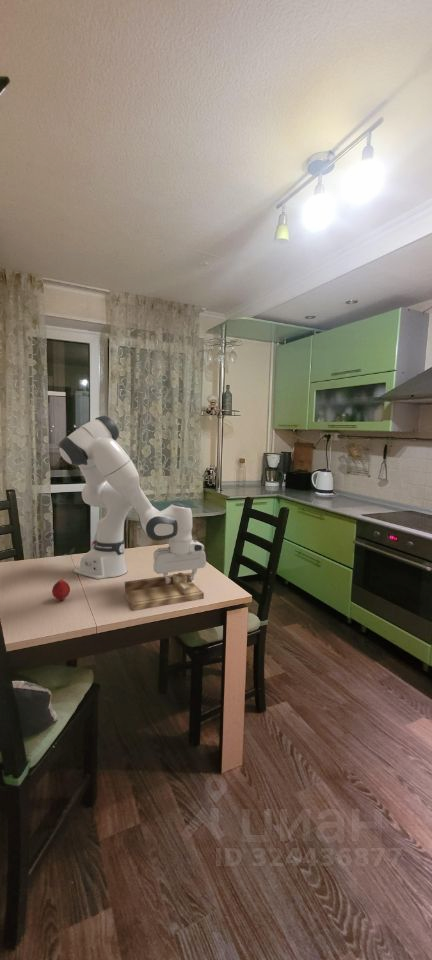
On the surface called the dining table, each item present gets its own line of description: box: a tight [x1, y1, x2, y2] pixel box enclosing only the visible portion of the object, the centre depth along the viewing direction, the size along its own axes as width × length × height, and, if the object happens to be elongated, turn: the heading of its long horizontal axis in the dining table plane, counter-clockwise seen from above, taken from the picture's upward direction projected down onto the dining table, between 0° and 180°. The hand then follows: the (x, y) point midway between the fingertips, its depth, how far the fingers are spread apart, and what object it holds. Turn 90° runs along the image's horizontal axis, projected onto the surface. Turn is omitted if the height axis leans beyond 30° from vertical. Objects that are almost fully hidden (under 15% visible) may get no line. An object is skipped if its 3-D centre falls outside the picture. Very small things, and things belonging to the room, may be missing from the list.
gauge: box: [172, 572, 191, 595], centre depth 142 cm, size 4×10×5 cm, turn 26°
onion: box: [51, 578, 71, 601], centre depth 135 cm, size 6×6×8 cm
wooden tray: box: [124, 572, 205, 611], centre depth 141 cm, size 26×14×5 cm, turn 116°
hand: (179, 581), depth 145 cm, fingers open, 8 cm apart
